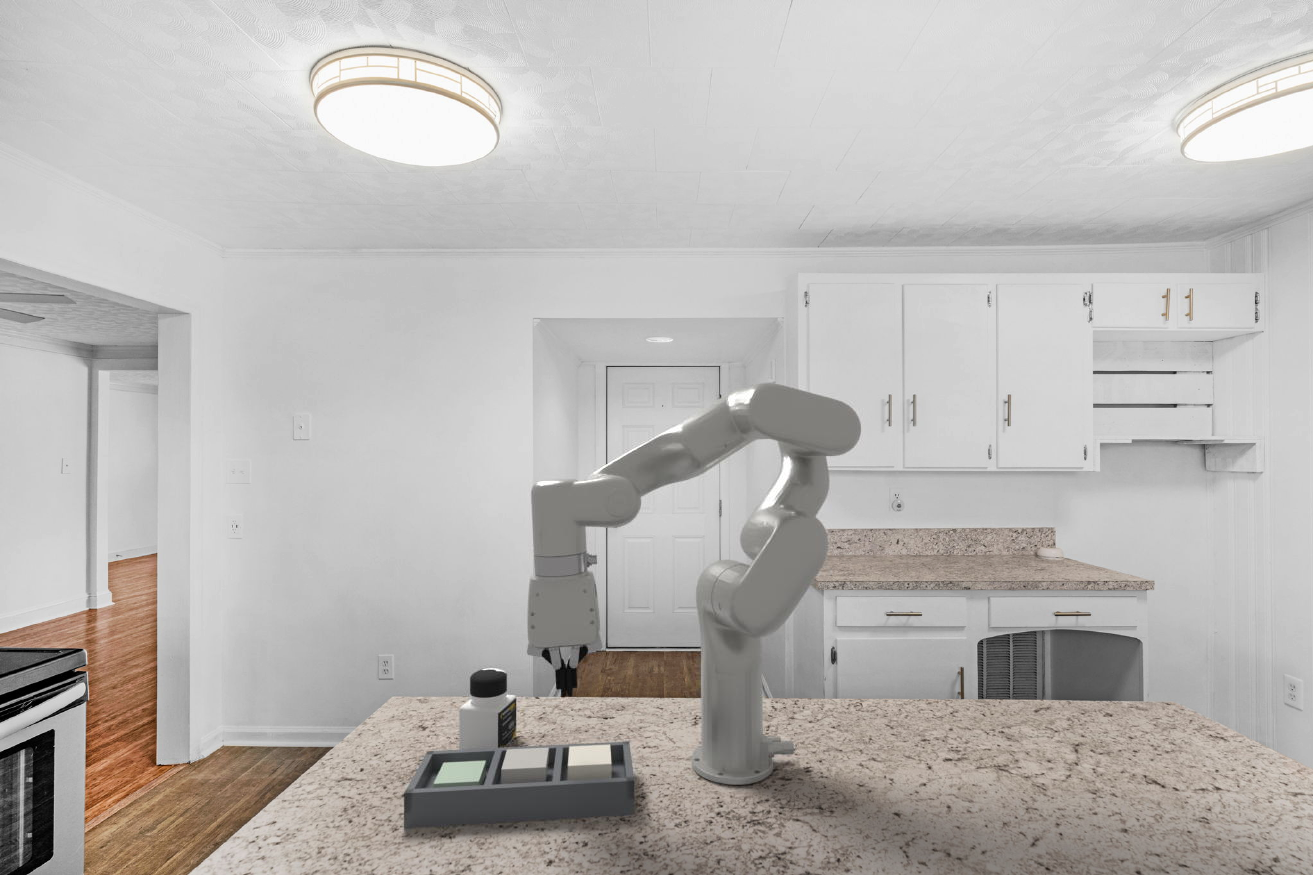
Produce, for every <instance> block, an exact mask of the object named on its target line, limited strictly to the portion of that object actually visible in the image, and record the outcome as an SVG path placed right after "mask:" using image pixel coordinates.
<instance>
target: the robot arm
mask: <svg viewBox="0 0 1313 875" xmlns="http://www.w3.org/2000/svg"><path fill="white" fill-rule="evenodd" d="M861 433H862V424H861V421H860V418H859V415H858V414H857V412H856V411H855V410H854V408H852V407H851V406H850V405H849V404H847V403H846V402H844V401H841V400H838V399H836V398H832V397H827V396H825V395H820V394H818V393H812V392H809V391H805V390H802V389H799V388H796V387H795V388H794V387H791V386H787V385H783V384H779V383H774V382H761V383H756V384H752V385H748V386H743V387H740V388H737V389H735V390H733V391H731V392H728V393H727V394H725V395H723V396H722V397H721V398H719V399H717V400H716V401H714V402H712V403H711V404H709V405H707V406H706V407H704V408H702V409H701V410H699V411H698V412H697V413H694V414H693V415H691V416H690V417H688V418H686V419H684V420H683V421H682V422H680V423H677V424H676V425H674V426H673V427H671V428H669V429H667V430H666V431H664V432H662V433H660V434H658V435H656V436H655V437H653V438H651V439H650V440H648V441H647V442H644V443H642V444H641V445H639V446H637V447H635V448H633V449H632V450H630V451H628V452H627V453H624V454H623V455H621V456H619V457H618V458H616V459H614V460H613V461H611V462H609V463H608V464H606V465H604V466H603V467H601V468H599V469H598V470H596V471H594V472H592V473H591V474H590V475H588V476H587V477H586V478H584V480H577V479H575V478H557V479H556V478H555V479H546V480H545V479H544V480H540V481H536V482H535V483H534V484H533V485H532V487H531V490H530V496H531V497H530V499H531V500H530V501H531V502H530V503H531V521H532V522H531V524H532V540H533V541H532V542H533V544H532V545H533V563H534V574H532V575H530V578H529V585H528V594H527V619H526V622H527V640H528V644H527V647H526V648H527V650H526V654H527V655H528V656H532V657H537V658H543V659H544V660H545V661H546V662H547V663H548V664H550V665H551V666H552V668H553V669H554V673H555V689H556V691H557V690H560V697H561V698H565V697H566V696H567V697H568V698H570V697H571V698H572V697H573V693H574V689H578V665H579V663H580V662H581V661H583V659H584V658H585V657H586V656H587V655H588V654H592V653H595V652H597V651H601V650H602V649H603V641H602V637H601V634H600V629H601V624H600V623H601V621H600V608H599V600H598V599H599V598H598V591H597V584H596V580H595V575H594V572H593V571H592V570H588V568H590V566H594V565H598V555H597V554H594V555H593V554H590V552H588V550H587V530H586V528H587V527H589V528H592V527H593V528H611V529H612V528H613V529H614V528H620V527H624V526H626V525H628V524H631V522H633V520H634V519H636V517H637V516H638V514H639V512H640V510H641V507H642V497H644V496H646V495H648V494H650V493H652V492H653V491H656V490H658V489H660V488H663V487H665V486H668V485H672V484H676V483H680V482H685V481H688V480H691V479H694V478H696V477H699V476H701V475H703V474H706V472H708V471H709V470H710V469H712V468H714V467H715V466H717V465H718V464H720V463H721V462H723V461H725V460H726V459H727V458H729V457H730V456H732V455H734V454H735V453H736V452H739V451H740V450H742V449H743V448H744V447H747V446H748V445H749V444H751V443H753V442H755V441H757V440H773V441H777V445H778V448H779V452H780V453H779V454H780V459H781V462H780V464H781V465H780V469H779V473H778V475H777V477H776V478H775V481H774V482H773V484H772V485H771V487H770V489H769V490H768V492H767V493H766V494H765V495H764V497H763V498H762V499H761V501H759V502H760V503H758V505H757V506H756V508H755V509H754V510H753V512H752V513H751V514H750V516H749V517H748V518H747V520H746V522H745V523H744V525H743V527H742V529H741V533H740V538H739V539H740V540H739V543H740V547H741V549H742V551H743V553H744V554H745V556H747V557H748V558H749V559H751V560H752V562H751V563H750V564H746V563H743V562H741V561H738V560H734V559H722V560H721V559H720V560H716V561H714V562H711V563H710V564H709V565H707V566H706V567H705V568H704V569H703V571H702V572H701V573H700V575H699V577H698V580H697V582H696V583H697V584H696V588H695V589H696V590H695V603H696V609H697V610H696V611H697V616H698V617H697V618H698V624H699V634H700V635H699V636H700V700H701V701H700V713H701V716H700V717H701V718H700V721H701V722H700V726H701V727H700V728H701V730H700V732H701V737H700V738H701V740H700V741H701V743H700V744H701V745H700V746H698V747H696V749H695V750H694V751H693V752H692V754H691V766H692V769H693V770H694V771H695V772H696V773H697V774H698V775H699V776H701V777H702V778H704V779H707V780H709V781H712V782H715V783H718V784H723V785H733V786H739V785H741V786H742V785H743V786H744V785H750V784H755V783H758V782H760V781H761V782H762V781H763V780H766V779H767V778H768V777H769V776H771V774H772V773H773V771H774V759H773V758H774V757H775V755H776V756H778V755H781V756H784V755H785V756H786V755H787V756H789V755H794V754H795V747H794V746H795V745H794V742H793V741H792V740H782V738H781V736H780V735H777V736H776V735H773V736H766V735H765V733H764V732H763V731H764V730H763V729H764V725H763V721H764V720H763V718H764V717H763V716H764V714H763V711H764V710H763V647H762V638H765V637H768V636H771V635H773V634H774V633H776V632H777V631H778V630H779V629H780V628H781V627H782V626H784V624H785V623H786V622H787V621H788V619H789V617H790V616H791V615H792V614H793V612H794V610H796V608H797V606H798V605H799V603H800V602H801V600H802V599H803V597H805V594H806V593H807V592H808V590H809V589H810V587H811V585H812V583H814V581H815V579H816V578H817V576H818V575H819V573H820V571H821V570H822V568H823V567H824V564H825V561H826V559H827V554H828V553H829V552H828V551H829V536H828V533H827V529H826V528H825V526H824V524H823V522H821V521H820V519H819V518H817V515H818V513H819V511H820V510H821V508H822V506H823V505H824V504H825V502H826V500H827V497H828V495H829V491H830V490H829V489H830V471H829V466H828V461H827V457H837V456H838V457H839V456H842V455H845V454H846V453H848V452H850V451H851V450H852V449H854V448H855V446H857V444H858V442H859V441H860V439H861V438H860V437H861ZM569 647H570V652H569V653H570V654H569V656H570V657H569V658H568V660H567V663H566V662H565V660H564V658H563V657H562V656H563V655H562V650H561V648H569Z"/></svg>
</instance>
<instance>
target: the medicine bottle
mask: <svg viewBox="0 0 1313 875" xmlns="http://www.w3.org/2000/svg"><path fill="white" fill-rule="evenodd" d="M458 709H459V710H458V711H459V712H458V713H459V714H458V715H459V716H458V721H459V723H458V727H459V728H458V731H459V732H458V733H459V734H458V750H463V749H483V748H504V747H508V745H509V744H510V743H511V742H512V741H513V740H514V739H515V738H516V737H517V695H514V694H508V673H507V672H506V671H504V670H503V669H500V668H491V667H490V668H488V667H487V668H483V669H479V670H477V671H475V672H473V673H472V674H471V676H469V700H468V701H466V702H465V703H464V704H463V705H461V706H460V707H459V708H458Z"/></svg>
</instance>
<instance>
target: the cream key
mask: <svg viewBox="0 0 1313 875" xmlns="http://www.w3.org/2000/svg"><path fill="white" fill-rule="evenodd" d="M607 778H611V750H610V745H590V746H569V757H568V781H570V780H589V779H607Z"/></svg>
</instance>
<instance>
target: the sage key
mask: <svg viewBox="0 0 1313 875" xmlns="http://www.w3.org/2000/svg"><path fill="white" fill-rule="evenodd" d="M485 776H486V761H467V762H447V763H443V765H442V767H441V769H440V771H439V773H438V775H437V777H436V780H435V782H434V784H433V788H441V787H459V786H478V785H483V782H484V779H485Z"/></svg>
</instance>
